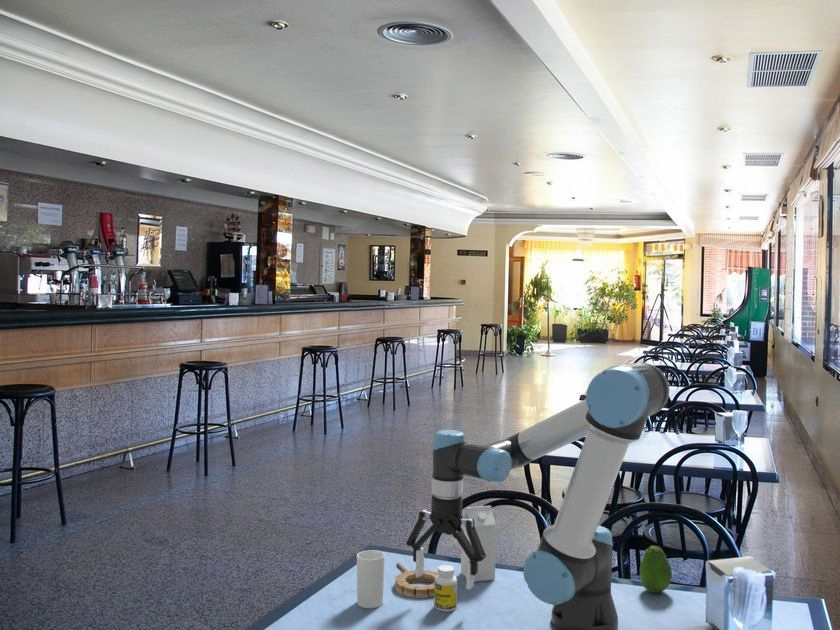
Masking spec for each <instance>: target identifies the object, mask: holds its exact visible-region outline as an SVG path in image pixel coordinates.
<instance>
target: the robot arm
mask: <svg viewBox="0 0 840 630" xmlns="http://www.w3.org/2000/svg"><path fill="white" fill-rule="evenodd" d="M669 397H670V385H669V381H668V379H667V377H666V375H665V373H663V371H662V370H661V369H660V368H658V367H657V366H656V365H653V364H651V363H647V362H632V363H629V364H624V365H620V364H619V365H612V366H610V367H608V368H605V369H604V370H602V371H600V372H598V373H597V374H596V375H595V376H594V377H593V378H592V380H591V381H590V382H589V384H588V387H587V390H586V393H585V399H583V400H581V401H580V402H577V403H576V404H573V405H571V406H569V407H567V408H565V409H563V410H562V411H560V412H557V413H556V414H553V415H552V416H549V417H547V418H546V419H543V420H541V421H540V422H539V421H538V422H537V423H535V424H533V425H531V426H529V427H526V428H525V429H523V430H521V431H519V432H517V433H515V434H513V435H511V436H509V437H507V438H505V439H501V440H499V441H498V440H497V441H493V442H491V443H488V444H484V445H482V444H481V445H480V444H476V443H475V444H474V443H469V442H466V437H465V435H466V434H465V433H464V432H463V431H460V430H455V429H441V430H438V431H437V432H435V433H434V435H433V445H432V446H433V447H432V450H431V451H432V472H431V473H432V475H431V476H432V477H431V478H432V479H431V494H432V495H431V498H430V499H431V501H430V502H431V503H430V504H431V505H430V507H431V508H430V509H431V512H430V511H428V509H427V508H425V509H422V510H421V511H419V513H418V519H417V521H416V523H415V525H414V528H413V529H412V531H411V533H410V535H409V536H408V538H407V540H406V545H407V546H408V547H409V546H410V547H411V548H412V549H413V551H412V553H413V555H412V557H413V558H412V560H413V562H414V563H415V570H416V577H420V576H421V575H422V574H423V570H425V568H424V566H425V565H424V564H425V563H424V562H425V548H424V547H422V546H423V545H424V544H425V542H427V541H428V540H429V539H430V538H431V536H432V535H433V534H434V533H435V532H438V534H445V535H448V536H451V535H452V536H453V538H454V539H456V541H457V542H458V544H459V546H460V548H461V547H462V549H463V550H464V552H465V553H466V555H467V556H468V558H469V559H470V560H469V561H468V562H467V578H466V584H465V585H466V586H465V589H466V590H470V589H472V588H473V587H474V586H475V584H474V583H475V582H474V575H476V574H477V572H478V561H482V560H483V559H484V558H486V554H485V552H484V549H483V547H482V544H481V542H480V539H479V537H478V534H477V531H476V529H475V522H474V519H473V518H470V519H463V502H464V501H463V499H464V498H463V496H462V495H463V494H464V476H467V477H472V478H476V479H481V480H484V481H487V482H494V483H495V482H496V483H502V482H504V481H505V480H506V479H507V477H508V476H510V473H511V471H512V470H515V469H518V468H522V467H525V466H527V465H528V464H529V463H531V462H533V461H535V460H536V459H539V458H542V457H544V456H546V455H548V454H550V453H552V452H554V451H557V450H559V449H561V448H563V447H566V446H568V445H569V444H572V443H574V442H576V441H578V440H581V439H582V438H585V439H584V442H583V445H582V447H581V450H580V451H579V452H580V453H579V455H578V457H577V458H578V459H577V461H576V463H575V466H574V469H573V472H572V475H571V477H570V480H569V483H568V485H567V488H566V490H565V492H564V493H565V494H564V495H563V496H564V497H563V500H562V501H561V504H560V507H559V510H558V513H557V516H556V518H555V522H554V524H552V525H550V526H547V527H546V528H545V529H544V530H543V533H542V535H541V537H540V541H539V544H538V546H537V548H536V550H535V551H533V552H531V553H530V554H529V555H528V557H527V558H526V559H525V561H524V564H523V569H522V570H523V578H524V580H525V583H526V585H527V588H528V589H529V591H530V592H531V594H532V595H534V596H535V598H537V599H538V600H539V601H541V602H543V603H545V604H547V605H553V606H552V608H551V609H552V610H551V623H552V625H553V626H554V627H555V628H556V629H558V630H619V629H618V628H619V616H618V613H617V609H616V606H615V602H614V599H613V596H612V575H613V574H612V569H613V568H612V567H613V546H614V544H613V534H612V532H611V530H609V528H606V527H605V526H602V525H600V521H601V520H602V519H601V518H602V516H603V514H604V512H605V511H604V510H605V508H606V506H607V503H608V500H609V497H610V495H611V493H612V490H613V487H614V485H615V482H616V479H617V477H618V474H619V473H620V469H621V466H622V464H623V462H624V459H625V456H626V453H627V452H628V448H629V446H630V444H632V443H634V442H635V443H636V442H637V441H640V438H641V436H642V433H643V432H644V428H645V426H646V423H647V420H648V418H649V417H651V416H653V415H655V414H657V413H659V412H660V411H661V410H662V409H663V408H664V407H665V405H666V404H667V403H668V401H669ZM427 520H430V521H431V523H432V525H431V526H430V527H428V529H427V530H426V531H425V533H424V534H423V535H422V536H420V538H419V539H418V537H419V534H420V533H421V532H422V529H423V527H424V526H425V524H426V522H427ZM462 524H463V525H464V528H466V531H467V534H468V537H469V539H470V542H471V543H470V542H469V540H468V539H467V537H466V536H465V534H464V531H463V529H462ZM417 539H418V540H417ZM416 540H417V541H416ZM471 544H472V545H471Z"/></svg>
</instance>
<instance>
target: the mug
mask: <svg viewBox="0 0 840 630" xmlns="http://www.w3.org/2000/svg"><path fill="white" fill-rule="evenodd" d="M384 577H385V553H384V552H383V551H381V550H374V549H372V550H369V549H368V550H363V551H360V552H358V553H357V554H356V595H357V596H356V600H357V601H356V603H357V605H358V606H359V607H361V608H365V609H376V608H380V607H381V606H382V605H383V602H384V587H385V585H384V584H385V583H384V582H385V580H384Z"/></svg>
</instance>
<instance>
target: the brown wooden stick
mask: <svg viewBox="0 0 840 630" xmlns="http://www.w3.org/2000/svg"><path fill="white" fill-rule="evenodd" d="M396 566H397V567H398V568H399V569H400V570H401V571H402V573H403V572H407V571H408V570H407V569H406V568H405V567H404V566H403V565H402V564H401V563H400V562H396Z"/></svg>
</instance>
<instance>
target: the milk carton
mask: <svg viewBox="0 0 840 630" xmlns="http://www.w3.org/2000/svg"><path fill="white" fill-rule="evenodd" d="M465 511H466V512H465V513H464V514H463V515H462V517H463V519H470V518H473V519H474V522H475V529H476V531H477V534H478V537H479V539H480V542H481V544H482V547H483V549H484V552H485V554H486V558H484V559H483V560H482V561H478V572H477V574H476V575H474V583H475V582H476V583H477V582H484V581H493V580H494V581H495V579H496V543H497V541H496V538H497V537H496V536H497V533H496V531H497V524H496V521H495V518H494V514H493V511H492V505H485V506H484V505H483V506H482V505H481V506H470V507H468V506H467V507H466V508H465ZM461 528H462V529H463V531H464V534H465V536H466V537H467V539H468V540H469V542H470V539H469V537H468V534H467V531H466V528H464V525H463V524H462V525H461ZM470 543H471V542H470ZM471 545H472V544H471ZM460 548H461V549H460V573H461V574H462V576H464V577H465V578H466V579H467V562H468V561H469V560H470V559H469V558H468V556H467V555H466V553H465V552H464V550H463V549H462V547H461V546H460Z"/></svg>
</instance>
